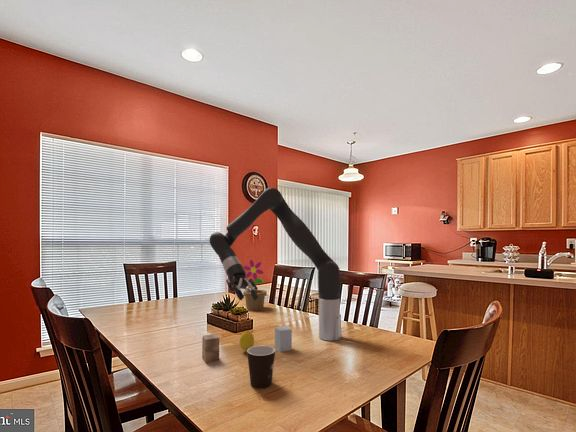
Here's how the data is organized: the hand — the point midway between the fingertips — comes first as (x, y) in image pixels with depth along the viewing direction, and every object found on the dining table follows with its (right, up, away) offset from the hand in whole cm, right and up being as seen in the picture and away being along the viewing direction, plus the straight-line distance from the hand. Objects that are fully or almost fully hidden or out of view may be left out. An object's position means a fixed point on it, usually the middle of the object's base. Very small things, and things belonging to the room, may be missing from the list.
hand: (249, 299), depth 134 cm
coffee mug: (+8, -17, -33) cm, 38 cm away
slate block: (+14, -19, -4) cm, 24 cm away
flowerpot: (-4, -22, +65) cm, 69 cm away
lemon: (0, -19, -7) cm, 20 cm away
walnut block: (-13, -18, -14) cm, 26 cm away
